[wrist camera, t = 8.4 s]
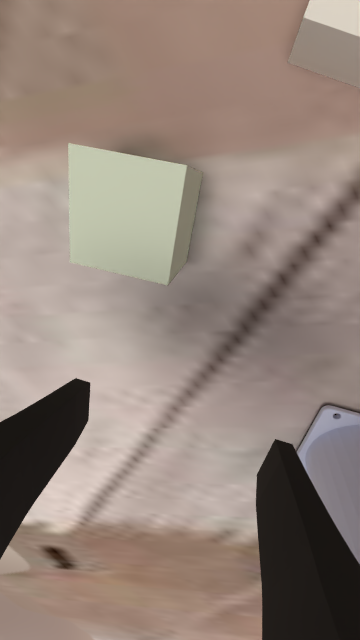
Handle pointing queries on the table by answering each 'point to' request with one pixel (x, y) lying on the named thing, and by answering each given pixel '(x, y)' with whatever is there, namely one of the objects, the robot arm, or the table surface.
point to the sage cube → (130, 213)
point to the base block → (330, 40)
